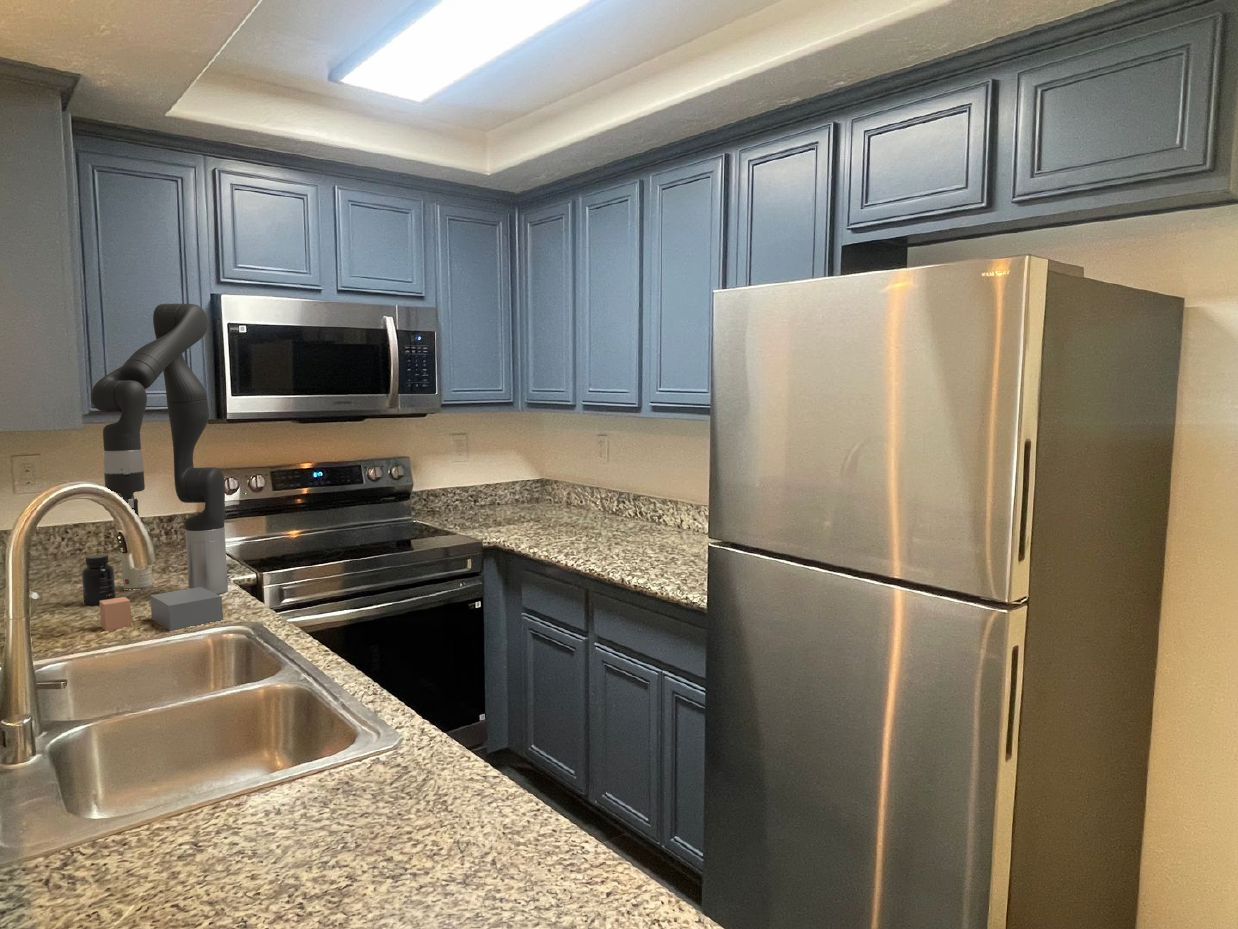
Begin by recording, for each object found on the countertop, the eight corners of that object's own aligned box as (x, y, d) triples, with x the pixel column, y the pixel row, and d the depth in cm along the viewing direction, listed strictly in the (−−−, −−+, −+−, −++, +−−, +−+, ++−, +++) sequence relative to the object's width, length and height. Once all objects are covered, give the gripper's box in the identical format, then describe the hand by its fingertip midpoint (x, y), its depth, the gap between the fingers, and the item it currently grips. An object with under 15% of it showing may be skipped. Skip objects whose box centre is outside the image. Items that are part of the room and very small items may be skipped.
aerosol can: (139, 584, 222) (134, 513, 221) (158, 585, 220) (154, 514, 219) (117, 590, 216) (112, 517, 214) (137, 591, 214) (132, 517, 212)
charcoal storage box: (151, 620, 186) (150, 595, 186) (202, 611, 194) (200, 586, 194) (170, 632, 177) (169, 605, 176) (223, 621, 184) (221, 596, 184)
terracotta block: (101, 626, 181) (99, 600, 180) (126, 622, 184) (124, 596, 184) (106, 631, 177) (104, 604, 177) (131, 626, 181) (130, 600, 180)
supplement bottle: (77, 605, 200) (73, 558, 199) (101, 598, 207) (98, 553, 206) (97, 607, 198) (94, 559, 197) (122, 600, 205) (119, 554, 204)
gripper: (99, 469, 181) (104, 540, 182) (108, 473, 170) (113, 549, 171) (137, 467, 186) (142, 536, 187) (149, 471, 175) (153, 544, 176)
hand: (128, 542), depth 179 cm, fingers open, 8 cm apart
